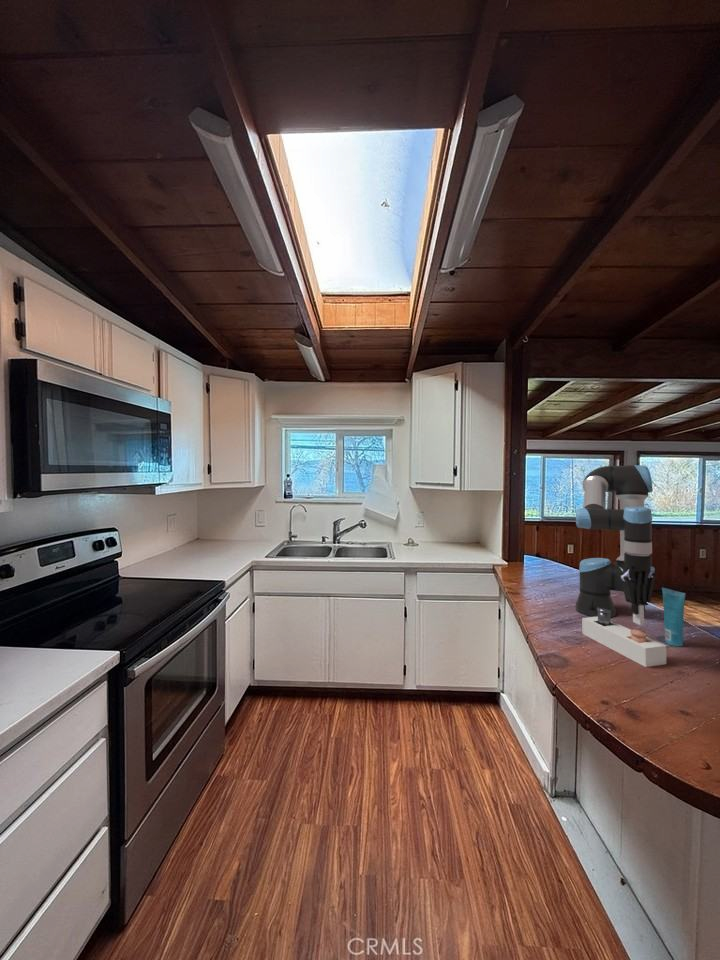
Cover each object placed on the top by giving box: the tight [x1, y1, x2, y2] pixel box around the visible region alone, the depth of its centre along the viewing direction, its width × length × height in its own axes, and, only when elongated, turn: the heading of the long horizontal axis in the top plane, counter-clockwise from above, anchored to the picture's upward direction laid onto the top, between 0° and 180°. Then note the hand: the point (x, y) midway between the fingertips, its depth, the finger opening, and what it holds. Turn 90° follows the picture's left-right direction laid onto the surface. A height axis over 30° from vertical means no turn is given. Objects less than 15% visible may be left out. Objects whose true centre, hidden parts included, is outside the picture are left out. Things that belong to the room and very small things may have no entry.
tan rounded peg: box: [630, 628, 648, 643], centre depth 127 cm, size 4×4×7 cm
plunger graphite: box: [597, 607, 612, 626], centre depth 141 cm, size 4×4×7 cm
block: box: [581, 616, 667, 668], centre depth 134 cm, size 8×26×6 cm, turn 11°
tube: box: [661, 587, 687, 647], centre depth 136 cm, size 7×5×19 cm, turn 26°
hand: (638, 623), depth 127 cm, fingers closed
